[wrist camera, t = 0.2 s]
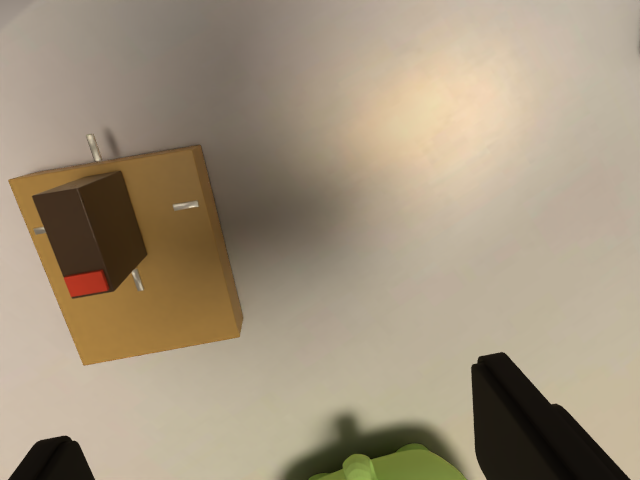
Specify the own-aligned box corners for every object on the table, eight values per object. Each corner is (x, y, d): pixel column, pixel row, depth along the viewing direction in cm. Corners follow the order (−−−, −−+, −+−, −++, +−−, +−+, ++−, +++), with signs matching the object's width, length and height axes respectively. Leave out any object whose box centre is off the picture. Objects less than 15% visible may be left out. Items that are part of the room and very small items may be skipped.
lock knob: (84, 176, 22) (27, 196, 17) (121, 170, 22) (75, 189, 17) (113, 260, 24) (69, 301, 19) (147, 255, 24) (112, 294, 19)
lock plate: (23, 145, 24) (-8, 150, 21) (194, 117, 24) (183, 118, 22) (99, 344, 28) (82, 367, 26) (243, 318, 29) (239, 338, 26)
